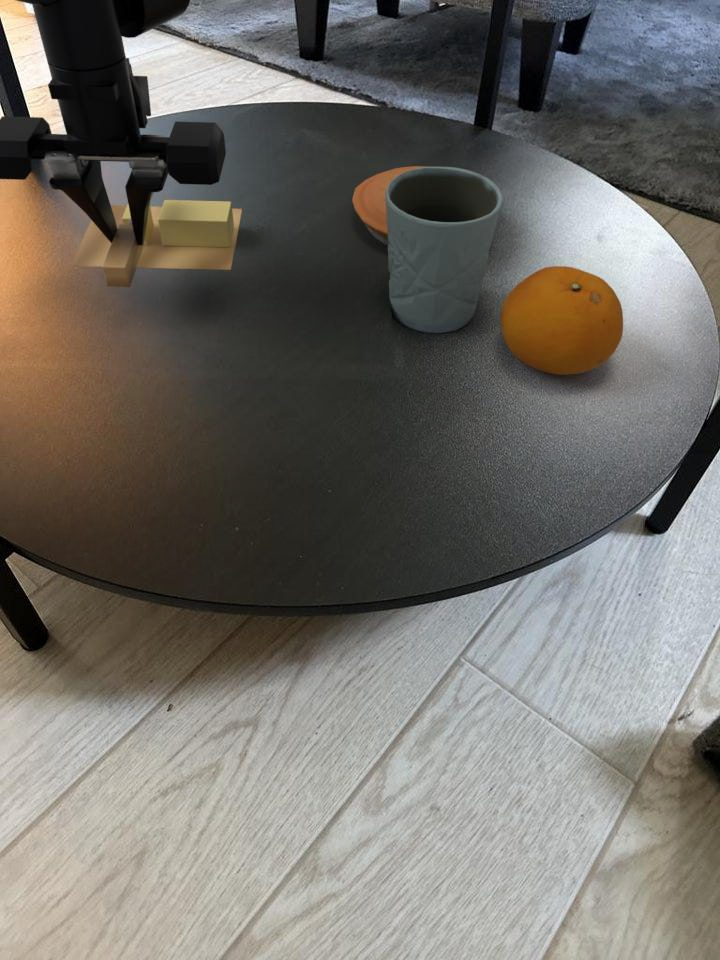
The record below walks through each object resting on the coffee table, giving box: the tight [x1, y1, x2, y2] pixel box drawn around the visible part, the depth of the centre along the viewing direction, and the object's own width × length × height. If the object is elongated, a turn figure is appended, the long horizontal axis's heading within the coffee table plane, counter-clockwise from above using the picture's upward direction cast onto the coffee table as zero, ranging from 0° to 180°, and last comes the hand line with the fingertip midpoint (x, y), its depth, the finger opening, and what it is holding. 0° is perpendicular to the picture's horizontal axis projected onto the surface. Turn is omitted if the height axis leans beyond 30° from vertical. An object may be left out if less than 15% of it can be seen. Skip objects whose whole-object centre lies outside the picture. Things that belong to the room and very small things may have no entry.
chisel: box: [101, 192, 155, 288], centre depth 69 cm, size 17×2×2 cm, turn 0°
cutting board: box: [70, 204, 243, 271], centre depth 78 cm, size 16×12×1 cm
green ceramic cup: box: [385, 166, 504, 334], centre depth 68 cm, size 10×10×12 cm
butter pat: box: [122, 203, 154, 245], centre depth 76 cm, size 2×4×3 cm, turn 0°
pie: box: [351, 165, 427, 246], centre depth 80 cm, size 16×16×5 cm
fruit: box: [500, 265, 624, 376], centre depth 66 cm, size 10×10×8 cm
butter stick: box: [158, 199, 234, 247], centre depth 77 cm, size 7×4×3 cm, turn 90°
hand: (128, 242), depth 67 cm, fingers closed on chisel, 2 cm apart
